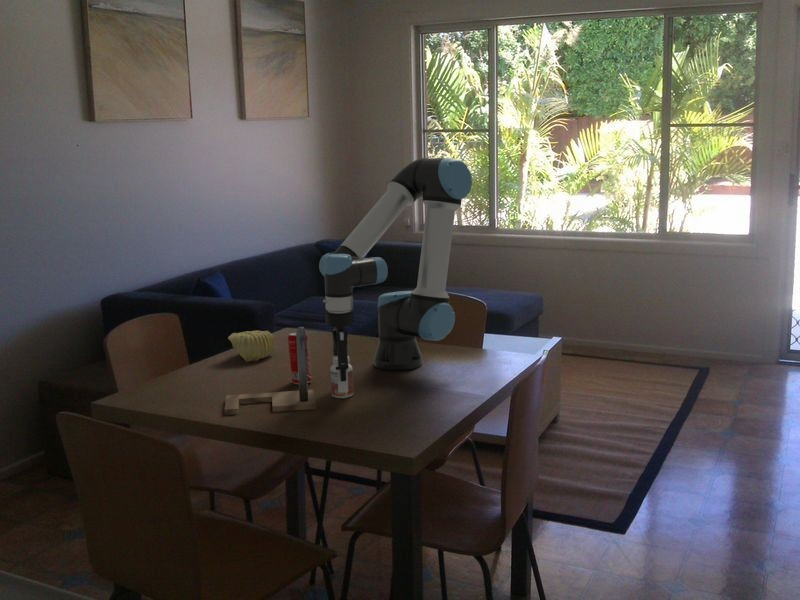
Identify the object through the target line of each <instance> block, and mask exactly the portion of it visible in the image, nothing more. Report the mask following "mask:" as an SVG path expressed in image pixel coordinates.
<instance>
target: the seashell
mask: <svg viewBox="0 0 800 600" xmlns="http://www.w3.org/2000/svg"><path fill="white" fill-rule="evenodd" d="M227 339H228V340H229V341H230V343H231V345H232V348H233V349H235V351H236V352H238V354H239V355H240V357H241V358H242V359H244V361H245V362H246V363H248V362H254V361H255V362H257V361H259V360H261V359H265V358H266V357H269V356H270V355H272V353H273V352H274V351H275V349H276V339H275V337H274V335H273V334H272V333H271V332H270V331H268V330H263V331H262V330H258V329H257V330H252V331H249V330H246V331H242V332H233V333H231V334H230V335H228V337H227Z"/></svg>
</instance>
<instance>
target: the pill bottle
mask: <svg viewBox="0 0 800 600" xmlns="http://www.w3.org/2000/svg"><path fill="white" fill-rule="evenodd" d="M347 356H348V365H349V367H348V392H341V393H338V370H336V367H338V357H337V356H334V355H333V357H332V363H333V364H332V365H331V366H330V388H331V389H330V390H331V392H330V393H331V396H332V397H333V398H336V399H346V398H350V397H352V396H353V395H354V394H355V393H354V391H355V390H354V374H353V373H354V372H353V371H354V370H353V366H352V365H351V364H350V361H351V360H350V356H349V355H347Z"/></svg>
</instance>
